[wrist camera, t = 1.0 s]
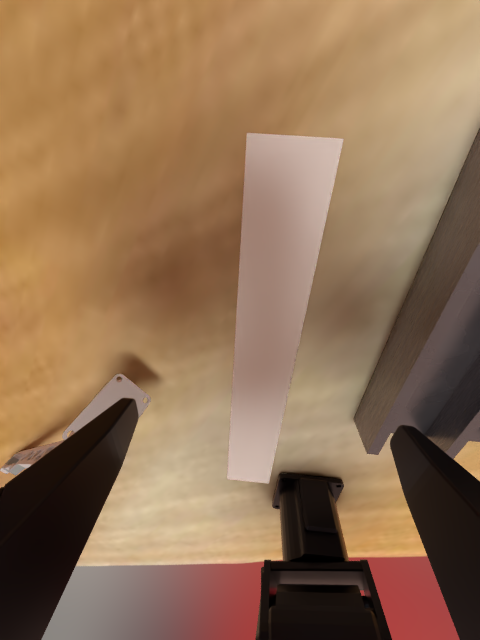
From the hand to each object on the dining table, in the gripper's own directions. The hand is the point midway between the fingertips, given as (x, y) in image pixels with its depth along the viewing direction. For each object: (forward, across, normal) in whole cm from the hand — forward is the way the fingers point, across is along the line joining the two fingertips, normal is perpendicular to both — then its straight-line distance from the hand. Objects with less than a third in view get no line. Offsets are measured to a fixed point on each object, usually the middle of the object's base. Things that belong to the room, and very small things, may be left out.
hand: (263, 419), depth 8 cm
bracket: (+9, +17, +14) cm, 24 cm away
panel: (+9, 0, 0) cm, 9 cm away
